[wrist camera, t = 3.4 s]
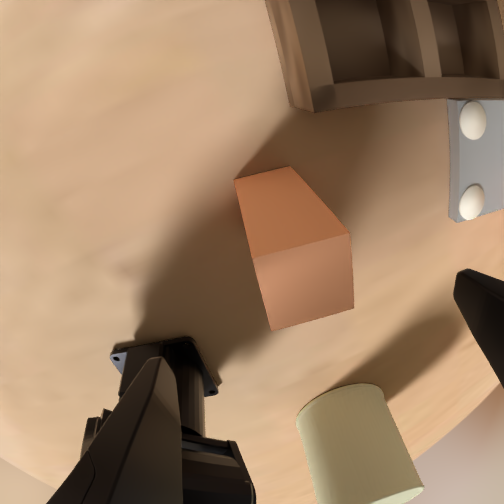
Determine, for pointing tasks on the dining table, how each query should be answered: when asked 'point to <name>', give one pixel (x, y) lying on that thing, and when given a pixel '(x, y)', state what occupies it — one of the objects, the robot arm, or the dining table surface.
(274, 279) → the peg
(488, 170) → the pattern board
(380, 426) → the can
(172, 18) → the dining table surface
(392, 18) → the socket block
